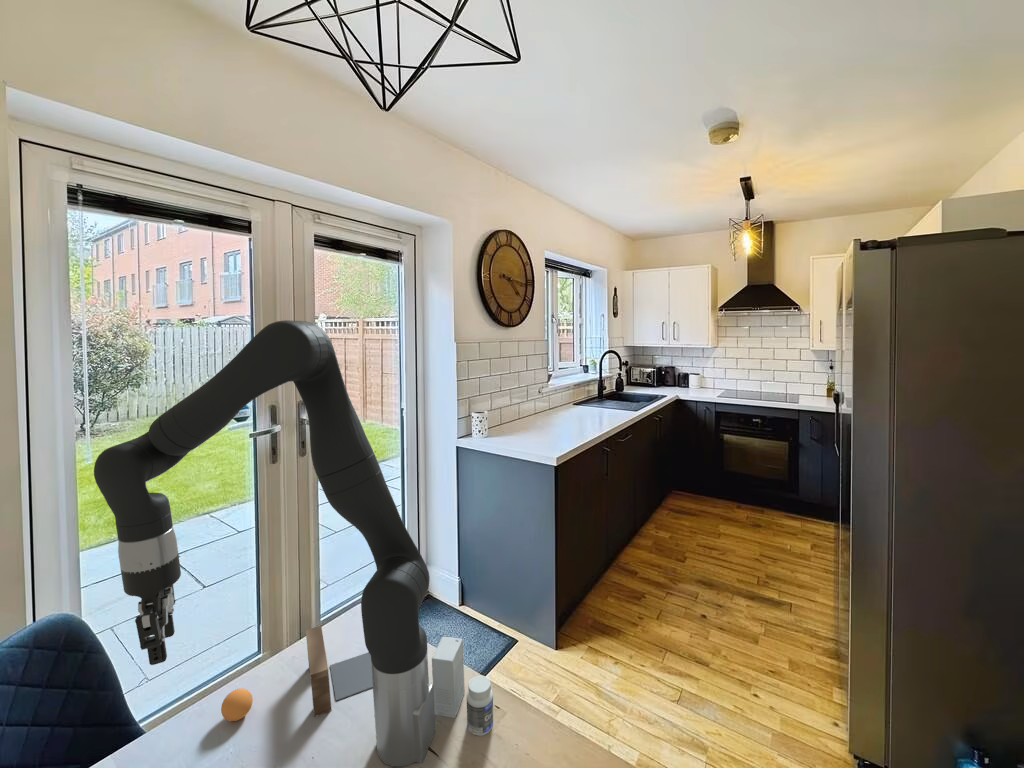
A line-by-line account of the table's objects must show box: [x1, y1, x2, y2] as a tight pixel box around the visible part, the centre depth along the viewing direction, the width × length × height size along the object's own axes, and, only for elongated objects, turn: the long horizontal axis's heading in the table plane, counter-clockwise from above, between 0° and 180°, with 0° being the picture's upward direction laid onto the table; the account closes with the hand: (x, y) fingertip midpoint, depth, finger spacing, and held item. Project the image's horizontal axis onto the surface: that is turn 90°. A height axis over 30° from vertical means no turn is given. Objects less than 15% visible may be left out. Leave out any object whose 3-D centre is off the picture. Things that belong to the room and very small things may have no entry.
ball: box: [220, 687, 254, 722], centre depth 85 cm, size 5×5×5 cm
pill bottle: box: [466, 675, 494, 736], centre depth 82 cm, size 5×5×8 cm
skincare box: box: [431, 636, 466, 719], centre depth 87 cm, size 6×4×12 cm
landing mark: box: [330, 651, 373, 702], centre depth 95 cm, size 10×10×1 cm
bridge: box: [305, 625, 332, 718], centre depth 91 cm, size 3×14×9 cm, turn 27°
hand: (162, 648), depth 78 cm, fingers open, 6 cm apart
